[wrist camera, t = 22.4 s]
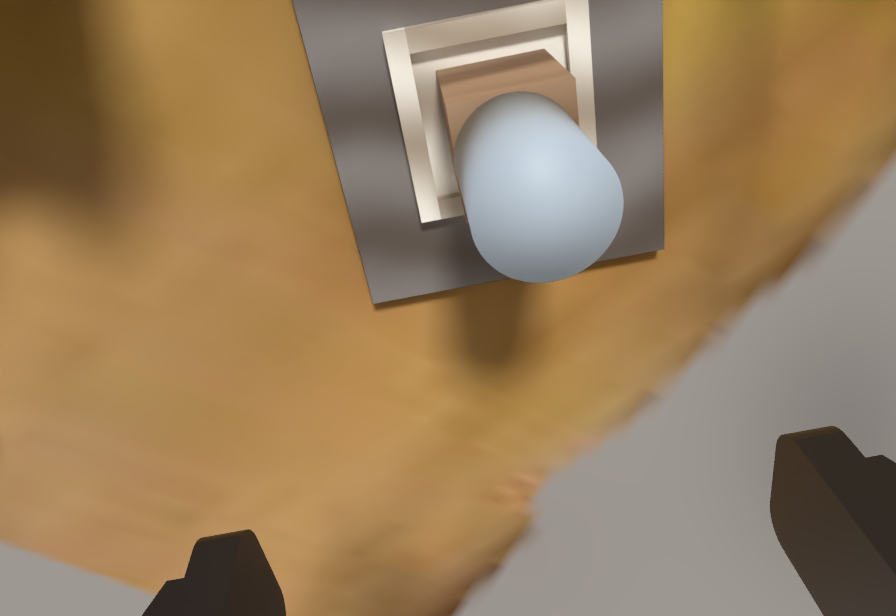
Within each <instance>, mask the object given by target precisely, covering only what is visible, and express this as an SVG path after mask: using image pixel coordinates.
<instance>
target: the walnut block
mask: <svg viewBox="0 0 896 616" xmlns="http://www.w3.org/2000/svg"><path fill="white" fill-rule="evenodd" d="M436 74H437V80H438V85H439V91H440V96H441V102H442V107H443V113H444V118H445V124H446V129H447V135H448V140H449V146H450V151H451V157H452V162H453V168H454V174H455V178H456V182H457V186H458V190H459V194H460V198H461V202H462V206H463V211H464V215H465V219H466V223H469V221H468V218H467V214H466V210H465V206H464V202H463V198H462V194H461V190H460V186H459V182H458V178H457V174H456V170H455V164H454V150H455V144H456V140H457V137H458V134H459V132H460V130H461V128H462V126H463V124H464V123H465V121H466V120H467V118H468V117H469V116H470V115H471V113H472V112H473V111H474V110H476V109H477V108H478V107H479V106H480V105H482V104H483V103H484V102H486V101H488V100H489V99H491V98H493V97H496V96H498V95H500V94H504V93H508V92H515V91H528V92H535V93H538V94H542V95H544V96H546V97H548V98H550V99H552V100H554V101H555V102H557V103H558V104H559V105H560V106H561V107H562V108H563V109H564V110H565V111H566V112H567V113H568V114H569V116H570V117H571V118H572V119H573V120H574V121H575V123H576V124H577V125H578V126H579V116H578V104H577V91H576V78H575V77H574V76H573V75H572V74H571V73H570V72H569V71H567V70H566V69H565V68H564V67H563V66H562V65H561V64H560V63H559V62H558V61H557V60H556V59H555V58H554V57H553V56H552V55H551V54H550V53H548V52H547V51H546V50H545V49H540V50H535V51H530V52H525V53H520V54H515V55H510V56H505V57H500V58H495V59H490V60H485V61H480V62H475V63H470V64H465V65H461V66H456V67H451V68H446V69H441V70H436Z"/></svg>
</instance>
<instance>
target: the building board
mask: <svg viewBox="0 0 896 616" xmlns="http://www.w3.org/2000/svg"><path fill="white" fill-rule="evenodd" d="M293 4H294V8H295V12H296V15H297V19H298V23H299V27H300V30H301V34H302V38H303V42H304V45H305V49H306V53H307V57H308V60H309V64H310V68H311V72H312V75H313V79H314V83H315V87H316V90H317V94H318V98H319V102H320V105H321V109H322V113H323V117H324V120H325V124H326V128H327V132H328V135H329V139H330V143H331V147H332V150H333V154H334V158H335V161H336V165H337V169H338V173H339V176H340V180H341V184H342V188H343V191H344V195H345V199H346V203H347V206H348V210H349V214H350V218H351V221H352V225H353V229H354V233H355V236H356V240H357V244H358V248H359V251H360V255H361V259H362V263H363V266H364V270H365V274H366V278H367V281H368V285H369V289H370V293H371V296H372V300H373V304H375V303H380V302H386V301H391V300H396V299H402V298H407V297H412V296H418V295H423V294H428V293H434V292H439V291H444V290H450V289H455V288H460V287H466V286H471V285H476V284H482V283H487V282H492V281H498V280H503V279H508V278H510V277H508V276H506V275H504V274H502V273H500V272H499V271H497V270H496V269H494V268H493V267H492V266H491V265H490V264H489V263H488V262H487V261H486V260H485V259H484V258H483V257H482V255H481V254H480V252H479V251H478V249H477V247H476V245H475V243H474V240H473V237H472V233H471V229H470V225H469V223H466V219H465V215H464V211H463V206H462V202H461V198H460V194H459V190H458V186H457V182H456V178H455V174H454V168H453V162H452V157H451V151H450V146H449V140H448V135H447V129H446V124H445V118H444V113H443V107H442V102H441V96H440V91H439V85H438V80H437V74H436V70H441V69H446V68H451V67H456V66H461V65H465V64H470V63H475V62H480V61H485V60H490V59H495V58H500V57H505V56H510V55H515V54H520V53H525V52H530V51H535V50H540V49H545V50H546V51H547V52H548V53H550V54H551V55H552V56H553V57H554V58H555V59H556V60H557V61H558V62H559V63H560V64H561V65H562V66H563V67H564V68H565V69H566V70H567V71H569V72H570V73H571V74H572V75H573V76H574V77H575V78H576V91H577V104H578V116H579V127H580V129H581V130H582V131H583V132H584V133H585V134H586V136H587V137H588V138H589V139H590V140H591V142H592V143H593V144H594V145H595V146H596V147H597V149H598V150H599V151H600V152H601V153H602V155H603V156H604V157H605V158H606V159H607V160H608V162H609V163H610V164H611V165H612V167H613V168H614V170H615V172H616V173H617V176H618V178H619V180H620V183H621V187H622V191H623V199H624V204H623V215H622V220H621V223H620V226H619V229H618V231H617V234H616V236H615V238H614V239H613V241H612V243H611V244H610V246H609V247H608V248H607V250H606V251H605V252H604V253H603V254H602V255H601V256H600V257H599V258H598V259H597V260H596V261H595V262H599V261H604V260H610V259H615V258H620V257H626V256H631V255H636V254H642V253H647V252H652V251H658V250H663V249H664V144H663V4H662V0H293Z"/></svg>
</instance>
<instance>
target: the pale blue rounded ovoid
mask: <svg viewBox="0 0 896 616" xmlns="http://www.w3.org/2000/svg"><path fill="white" fill-rule="evenodd" d="M454 164H455V170H456V174H457V178H458V182H459V186H460V190H461V194H462V198H463V202H464V206H465V210H466V214H467V218H468V221H469V225H470V229H471V233H472V237H473V240H474V243H475V245H476V247H477V249H478V251H479V252H480V254H481V255H482V257H483V258H484V259H485V260H486V261H487V262H488V263H489V264H490V265H491V266H492V267H493V268H494V269H496V270H497V271H499V272H500V273H502V274H504V275H506V276H508V277H510V278H513V279H516V280H520V281H524V282H532V283H546V282H554V281H558V280H562V279H565V278H568V277H570V276H573V275H575V274H577V273H579V272H581V271H583V270H584V269H586V268H587V267H589V266H590V265H591V264H593V263H594V262H595V261H596V260H597V259H598V258H599V257H600V256H601V255H602V254H603V253H604V252H605V251H606V250H607V248H608V247H609V246H610V244H611V243H612V241H613V239H614V238H615V236H616V234H617V231H618V229H619V226H620V223H621V220H622V215H623V204H624V199H623V191H622V187H621V183H620V180H619V178H618V176H617V173H616V172H615V170H614V168H613V167H612V165H611V164H610V163H609V162H608V160H607V159H606V158H605V157H604V156H603V155H602V153H601V152H600V151H599V150H598V149H597V147H596V146H595V145H594V144H593V143H592V142H591V140H590V139H589V138H588V137H587V136H586V134H585V133H584V132H583V131H582V130H581V129H580V127H579V126H578V125H577V124H576V123H575V121H574V120H573V119H572V118H571V117H570V116H569V114H568V113H567V112H566V111H565V110H564V109H563V108H562V107H561V106H560V105H559V104H558V103H557V102H555V101H554V100H552V99H550V98H548V97H546V96H544V95H542V94H538V93H535V92H528V91H515V92H508V93H504V94H500V95H498V96H496V97H493V98H491V99H489V100H488V101H486V102H484V103H483V104H482V105H480V106H479V107H478V108H477V109H476V110H474V111H473V112H472V113H471V115H470V116H469V117H468V118H467V120H466V121H465V123H464V124H463V126H462V128H461V130H460V132H459V134H458V137H457V140H456V144H455V150H454Z"/></svg>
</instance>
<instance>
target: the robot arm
mask: <svg viewBox="0 0 896 616" xmlns="http://www.w3.org/2000/svg"><path fill="white" fill-rule="evenodd" d="M770 513H771V518H772V523H773V527H774V530H775V533H776V535H777V538H778V540H779V542H780V544H781V546H782V548H783V549H784V551H785V553H786V555H787V556H788V558H789V559H790V561H791V563H792V564H793V566H794V568H795V569H796V571H797V573H798V574H799V576H800V578H801V579H802V581H803V582H804V584H805V586H806V587H807V589H808V591H809V592H810V594H811V595H812V597H813V599H814V601H815V602H816V604H817V605H818V607H819V609H820V610H821V612H822V614H823V615H824V616H896V463H895V462H893V461H892V460H890V459H888V458H887V457H885V456H883V455H878V456H873V457H867V458H865V457H864V456H863V455H862V453H861V452H860V451H859V450H858V448H857V447H856V446H855V445H854V444H853V443H852V441H851V440H850V439H849V438H848V437H847V436H846V435H845V433H844V432H843V431H841V430H840V429H839V428H837V427H834V426H829V427H823V428H818V429H812V430H806V431H801V432H795V433H790V434H784V435H781V436H780V437H779V438H778V440H777V444H776V452H775V461H774V471H773V481H772V490H771V500H770ZM142 616H286V610H285V603H284V598H283V594H282V591H281V589H280V586H279V584H278V582H277V580H276V578H275V576H274V574H273V571H272V569H271V567H270V565H269V563H268V561H267V559H266V557H265V554H264V552H263V550H262V548H261V546H260V544H259V542H258V539H257V537H256V536H255V534H254V533H253V531H251V530H249V529H248V530H242V531H237V532H231V533H226V534H220V535H215V536H209V537H203V538H200V539H199V540H198V541H197V542H196V544H195V546H194V548H193V551H192V554H191V557H190V561H189V564H188V567H187V571H186V574H185V577H184V578H181V579H176V580H170V581H166V583H165V584H164V586H163V587H162V588H161V590H160V591H159V593H158V594H157V595H156V597H155V598H154V599H153V601H152V602H151V604H150V605H149V607H148V608H147V609H146V611H145V612H144V613H143V615H142Z"/></svg>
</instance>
